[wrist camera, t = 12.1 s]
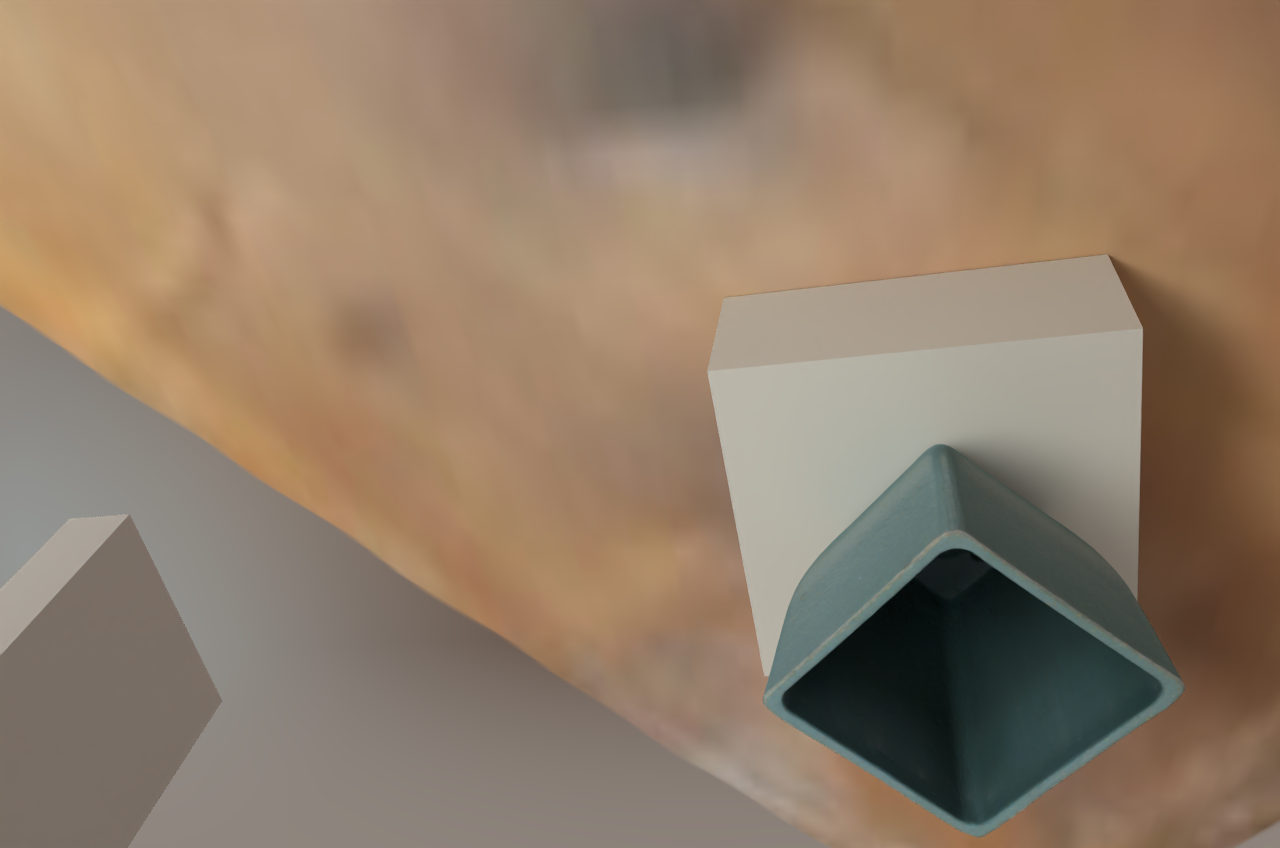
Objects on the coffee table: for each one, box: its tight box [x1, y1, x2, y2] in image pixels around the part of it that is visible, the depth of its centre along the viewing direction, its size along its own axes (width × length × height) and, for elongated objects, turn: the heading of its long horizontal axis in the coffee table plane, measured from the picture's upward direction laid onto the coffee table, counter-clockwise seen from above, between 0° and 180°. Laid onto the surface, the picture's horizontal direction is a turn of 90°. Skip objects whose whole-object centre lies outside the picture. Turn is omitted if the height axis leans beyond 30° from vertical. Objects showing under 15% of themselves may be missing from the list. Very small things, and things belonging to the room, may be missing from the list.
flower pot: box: [763, 444, 1185, 837], centre depth 38 cm, size 9×9×9 cm
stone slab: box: [707, 254, 1143, 676], centre depth 44 cm, size 14×14×6 cm
